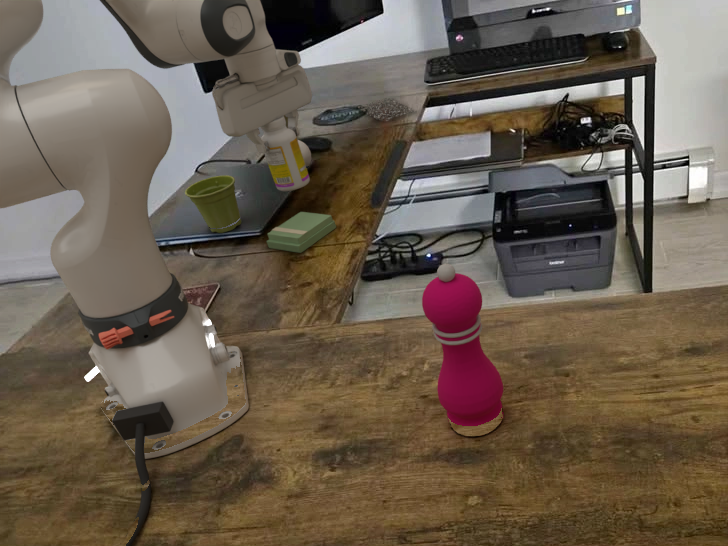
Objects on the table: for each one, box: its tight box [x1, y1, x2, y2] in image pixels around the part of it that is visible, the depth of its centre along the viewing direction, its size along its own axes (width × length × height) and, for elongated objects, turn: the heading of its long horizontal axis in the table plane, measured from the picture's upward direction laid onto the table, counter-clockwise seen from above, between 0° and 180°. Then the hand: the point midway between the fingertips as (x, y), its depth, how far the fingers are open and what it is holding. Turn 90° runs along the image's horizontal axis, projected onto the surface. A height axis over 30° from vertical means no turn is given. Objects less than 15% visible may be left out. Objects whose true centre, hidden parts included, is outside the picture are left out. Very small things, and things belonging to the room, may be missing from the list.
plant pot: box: [184, 174, 242, 234], centre depth 131 cm, size 9×9×9 cm
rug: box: [357, 97, 415, 122], centre depth 181 cm, size 10×20×1 cm, turn 28°
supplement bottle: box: [259, 115, 311, 192], centre depth 127 cm, size 7×7×13 cm
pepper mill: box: [421, 263, 504, 426], centre depth 70 cm, size 7×7×20 cm
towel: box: [266, 211, 337, 254], centre depth 123 cm, size 10×8×3 cm
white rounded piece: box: [297, 139, 312, 167], centre depth 151 cm, size 10×7×7 cm
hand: (279, 143), depth 126 cm, fingers closed on supplement bottle, 6 cm apart
